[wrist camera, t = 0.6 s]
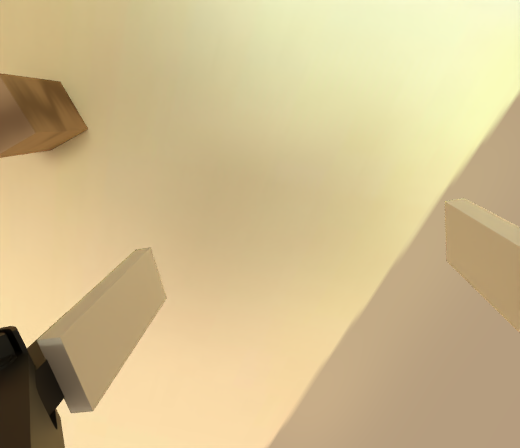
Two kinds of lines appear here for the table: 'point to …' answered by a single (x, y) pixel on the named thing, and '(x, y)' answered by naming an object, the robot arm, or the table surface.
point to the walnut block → (35, 115)
